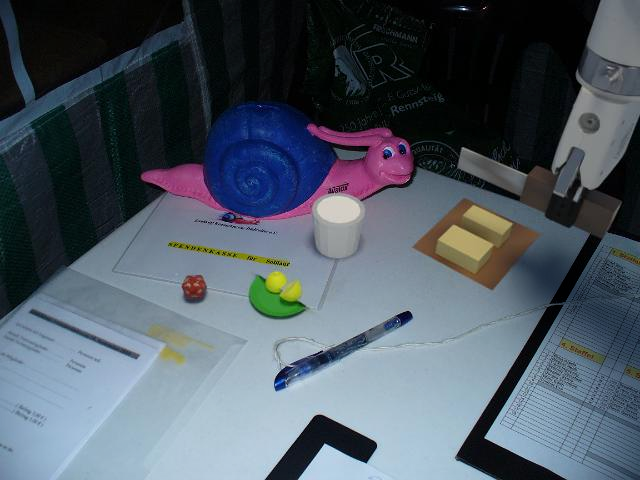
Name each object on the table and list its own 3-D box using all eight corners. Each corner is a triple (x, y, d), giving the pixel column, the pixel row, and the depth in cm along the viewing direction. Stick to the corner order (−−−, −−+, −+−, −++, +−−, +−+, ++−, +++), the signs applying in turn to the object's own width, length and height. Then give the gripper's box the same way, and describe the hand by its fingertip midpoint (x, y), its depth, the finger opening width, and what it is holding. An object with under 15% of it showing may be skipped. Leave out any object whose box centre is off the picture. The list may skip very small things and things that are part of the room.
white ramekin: (349, 227, 84) (352, 187, 79) (370, 259, 79) (374, 219, 75) (304, 238, 82) (304, 198, 77) (322, 272, 77) (323, 231, 73)
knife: (609, 228, 68) (622, 201, 65) (601, 239, 66) (614, 211, 64) (462, 163, 76) (468, 136, 74) (452, 171, 75) (458, 144, 72)
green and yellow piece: (324, 285, 76) (325, 269, 74) (294, 328, 70) (293, 313, 69) (270, 263, 78) (269, 248, 76) (236, 304, 73) (235, 288, 71)
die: (188, 284, 75) (185, 267, 73) (211, 288, 75) (209, 272, 73) (179, 301, 73) (176, 284, 71) (203, 305, 73) (200, 289, 71)
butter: (489, 258, 78) (494, 244, 77) (474, 274, 76) (478, 260, 74) (450, 237, 81) (453, 224, 80) (434, 253, 79) (437, 239, 77)
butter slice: (508, 237, 82) (513, 223, 80) (498, 248, 80) (502, 234, 78) (470, 218, 84) (473, 204, 83) (459, 229, 83) (462, 215, 81)
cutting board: (538, 238, 83) (540, 233, 82) (490, 295, 75) (492, 290, 74) (462, 202, 88) (464, 197, 88) (410, 252, 80) (411, 247, 80)
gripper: (632, 115, 50) (566, 267, 63) (687, 51, 60) (620, 195, 72) (548, 85, 54) (501, 235, 66) (612, 29, 63) (561, 170, 76)
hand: (564, 213), depth 69 cm, fingers closed on knife, 2 cm apart
